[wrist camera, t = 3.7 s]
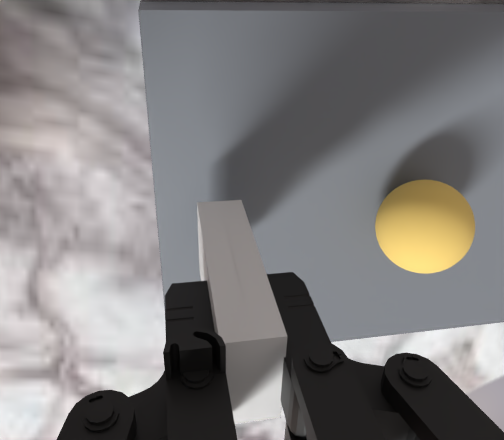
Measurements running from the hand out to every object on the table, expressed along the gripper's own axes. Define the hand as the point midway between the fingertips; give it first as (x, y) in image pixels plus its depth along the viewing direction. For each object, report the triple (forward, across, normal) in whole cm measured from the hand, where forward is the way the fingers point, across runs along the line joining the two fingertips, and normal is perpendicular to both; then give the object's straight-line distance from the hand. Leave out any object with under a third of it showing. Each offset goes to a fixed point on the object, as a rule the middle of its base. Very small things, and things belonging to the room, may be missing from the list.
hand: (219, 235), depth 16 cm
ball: (0, +7, 0) cm, 7 cm away
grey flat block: (+4, +12, 0) cm, 12 cm away
